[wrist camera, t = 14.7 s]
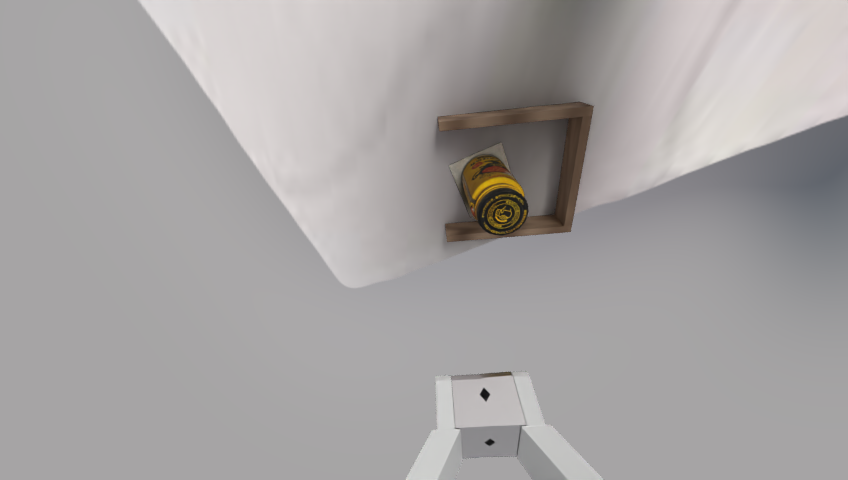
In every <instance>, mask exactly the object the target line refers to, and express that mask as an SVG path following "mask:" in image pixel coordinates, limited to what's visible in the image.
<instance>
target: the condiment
mask: <svg viewBox="0 0 848 480" xmlns="http://www.w3.org/2000/svg"><path fill="white" fill-rule="evenodd" d="M449 168H450V170H451V172H452V175H453V177H454V180H455V182H456V184H457V187H458V189H459V191H460V194H461V196H462V199H463V201H464V203H465V206H466V208H467V210H468V213H469V215H470V217H473V216H474V218H475V219H476V220H477V221H478V223H479V225H480V227H482V229H483V230H484V231H486V232H487V233H489V234H493V235H499V236H504V235H508V234H511V233H513V232H515V231H517V230H518V229H520V228H521V226H522V225H523V224H524V223H525V221H526V219H527V215H528V204H527V201H526V199H525V198H524V192H523V189H522V187H521V186H520V185H519V183H518V182H517V181H516V179H515V178H514V176H513V175H512V174H511V171H510V168H509V165H508V162H507V158H506V155H505V152H504V149H503V146H502V142H501V143H498V144H496V145H494V146H491V147H489V148H487V149H485V150H482V151H480V152H478V153H475V154H473V155H471V156H469V157H466V158H464V159H462V160H460V161H458V162H456V163H453V164H451V165H449Z"/></svg>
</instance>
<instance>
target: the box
mask: <svg viewBox="0 0 848 480" xmlns="http://www.w3.org/2000/svg"><path fill="white" fill-rule="evenodd" d="M593 107H594V106H592V105H588V104H585V103H582V102H574V103H565V104H555V105H546V106H536V107H526V108H517V109H507V110H498V111H488V112H479V113H469V114H460V115H450V116H441V117H438V126H439V131H448V130H458V129H467V128H477V127H487V126H497V125H507V124H516V123H526V122H536V121H546V120H556V119H565V118H569V121H568V128H567V134H566V141H565V148H564V155H563V162H562V168H561V175H560V182H559V189H558V196H557V203H556V209H555V215H544V216H532V217H527V219H526V221H525V223H524V224H523V225H522V226H521V228H520V229H518V230H517V231H515V232H513V233H511V234H508V235H504V236H499V235H493V234H489V233H487V232H486V231H484V230H483V229H482V227H480V225H479V223H478V221H473V222H461V223H449V224H445V227H446V237H447V242H453V241H465V240H478V239H490V238H502V237H514V236H527V235H538V234H550V233H563V232H571V227H572V221H573V216H574V211H575V205H576V200H577V195H578V189H579V184H580V178H581V173H582V167H583V162H584V156H585V151H586V146H587V140H588V135H589V129H590V124H591V118H592V113H593Z"/></svg>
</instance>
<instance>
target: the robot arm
mask: <svg viewBox="0 0 848 480" xmlns="http://www.w3.org/2000/svg"><path fill="white" fill-rule="evenodd" d="M451 380H452V383H451ZM435 386H436V424H437V430H432V431H431V433H430V435H429V437H428V439H427V440H426V442H425V444H424V446H423V448H422V450H421V452H420V453H419V455H418V457H417V459H416V461H415V463H414V465H413V467H412V468H411V470H410V472H409V474H408V476H407V478H406V480H455V479H456V476H457V474H458V471H459V469H460V466H461V464H462V461H463V460H462V459H463V458H479V457H510V456H511V457H517V459H518V460H519V461H520V463H521V464H522V466H523V467H524V468H525V470H526V471H527V473H528V474H529V475H530V477H531V478H532V479H533V480H603V478H602V477H601V476H600V475H599V474H598V473H597V472H596V471H595V470H594V469H593V468H592V467H591V466H590V465H589V464H588V463H587V462H586V461H585V460H584V459H583V458H582V457H581V456H580V454H579V453H578V452H577V451H576V450H574V448H573V447H572V446H571V445H570V444H569V443H568V442H567V441H566V440H565V439H564V438H563V437H562V436H561V435H560V434H559V433H558V432H557V431H556V430H555V429H554V428H553V427H552V426H551V425H545V421H544V418H543V415H542V412H541V409H540V406H539V403H538V400H537V397H536V394H535V391H534V388H533V385H532V382H531V378H530V375H529V374H528V372H527V371H520V372H500V373H487V374H477V375H476V374H474V375H455V376H451V375H448V376H436V380H435Z"/></svg>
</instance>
